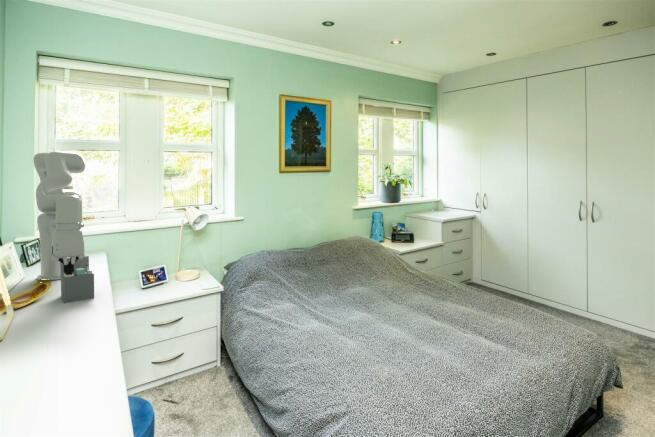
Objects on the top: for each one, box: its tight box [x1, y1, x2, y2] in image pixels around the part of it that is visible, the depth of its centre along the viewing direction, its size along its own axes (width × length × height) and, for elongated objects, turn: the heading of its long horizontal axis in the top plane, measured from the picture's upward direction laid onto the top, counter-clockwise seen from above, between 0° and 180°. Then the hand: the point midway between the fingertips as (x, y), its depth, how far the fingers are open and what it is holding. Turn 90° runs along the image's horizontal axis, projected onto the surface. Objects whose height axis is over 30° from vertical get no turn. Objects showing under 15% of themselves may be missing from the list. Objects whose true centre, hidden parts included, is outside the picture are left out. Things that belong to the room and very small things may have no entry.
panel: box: [60, 272, 95, 304], centre depth 147 cm, size 4×10×10 cm, turn 139°
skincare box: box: [60, 255, 90, 275], centre depth 153 cm, size 8×7×16 cm
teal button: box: [75, 268, 85, 276], centre depth 147 cm, size 3×3×3 cm
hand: (68, 274), depth 144 cm, fingers closed
